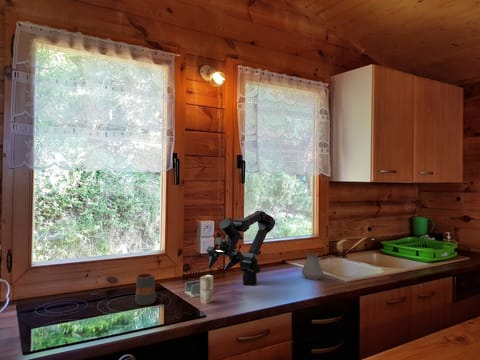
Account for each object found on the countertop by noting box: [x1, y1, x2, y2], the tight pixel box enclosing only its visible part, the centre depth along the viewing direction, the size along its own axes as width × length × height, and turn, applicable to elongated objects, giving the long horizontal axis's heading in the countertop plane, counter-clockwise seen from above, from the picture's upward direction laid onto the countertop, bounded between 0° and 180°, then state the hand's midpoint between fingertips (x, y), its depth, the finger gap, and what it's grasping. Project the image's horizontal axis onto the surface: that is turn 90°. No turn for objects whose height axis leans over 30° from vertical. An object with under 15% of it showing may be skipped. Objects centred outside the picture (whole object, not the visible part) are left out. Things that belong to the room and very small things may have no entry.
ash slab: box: [199, 274, 214, 305], centre depth 165 cm, size 5×3×11 cm, turn 143°
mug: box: [134, 273, 157, 306], centre depth 165 cm, size 9×12×12 cm
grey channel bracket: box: [184, 279, 200, 298], centre depth 177 cm, size 10×8×5 cm
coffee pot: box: [301, 252, 335, 281], centre depth 198 cm, size 21×12×15 cm, turn 29°
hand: (216, 269), depth 170 cm, fingers open, 9 cm apart
